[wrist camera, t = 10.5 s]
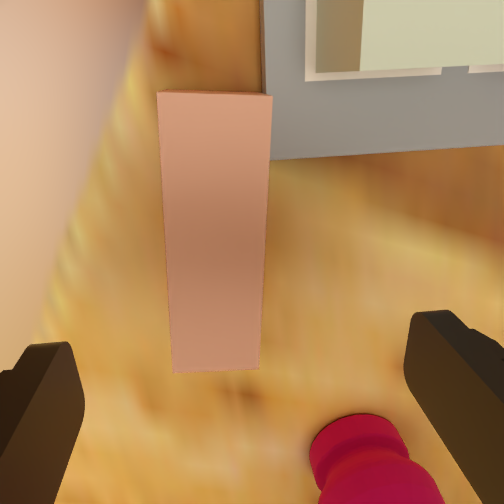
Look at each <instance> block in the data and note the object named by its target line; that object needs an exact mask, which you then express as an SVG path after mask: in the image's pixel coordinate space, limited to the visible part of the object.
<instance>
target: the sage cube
mask: <svg viewBox="0 0 504 504" xmlns="http://www.w3.org/2000/svg"><path fill="white" fill-rule="evenodd" d="M491 64H504V0H317V19H316V73H327V72H348V71H369V70H390V69H410V68H430V67H450V66H471V65H491Z"/></svg>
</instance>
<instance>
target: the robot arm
mask: <svg viewBox="0 0 504 504" xmlns="http://www.w3.org/2000/svg"><path fill="white" fill-rule="evenodd" d="M404 375H405V379H406V383H407V385H408V387H409V389H410V391H411V393H412V394H413V396H414V397H415V399H416V400H417V402H418V404H419V405H420V407H421V408H422V410H423V411H424V413H425V414H426V416H427V418H428V419H429V421H430V422H431V424H432V425H433V427H434V428H435V430H436V432H437V433H438V435H439V436H440V438H441V439H442V441H443V442H444V444H445V446H446V447H447V449H448V450H449V452H450V453H451V455H452V456H453V458H454V459H455V461H456V463H457V464H458V466H459V467H460V469H461V470H462V472H463V473H464V475H465V477H466V478H467V480H468V481H469V483H470V484H471V486H472V487H473V489H474V491H475V492H476V494H477V495H478V497H479V498H480V500H481V501H482V503H483V504H504V348H503V347H502V346H501V345H500V344H499V343H497V342H496V341H495V340H493V339H491V338H489V337H487V336H486V335H484V334H482V333H480V332H478V331H477V330H475V329H469V328H468V327H467V326H466V325H465V324H464V323H463V322H462V321H461V320H460V319H459V318H458V317H457V316H456V315H455V314H454V313H452V312H451V311H449V310H438V311H426V312H416V313H414V314H413V316H412V318H411V322H410V328H409V334H408V340H407V346H406V352H405V358H404ZM84 410H85V398H84V392H83V388H82V385H81V381H80V377H79V373H78V370H77V366H76V362H75V359H74V355H73V351H72V348H71V346H70V344H69V343H68V342H54V343H43V344H31V345H29V346H28V347H27V348H26V349H25V351H24V352H23V354H22V355H21V357H20V359H19V360H18V362H17V363H16V365H15V366H14V368H13V369H12V370H3V371H2V372H1V373H0V504H54V502H55V499H56V496H57V493H58V490H59V487H60V485H61V482H62V479H63V476H64V473H65V470H66V467H67V465H68V462H69V459H70V456H71V453H72V450H73V448H74V445H75V442H76V439H77V436H78V433H79V430H80V428H81V425H82V422H83V417H84Z"/></svg>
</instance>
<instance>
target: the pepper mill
mask: <svg viewBox="0 0 504 504" xmlns="http://www.w3.org/2000/svg"><path fill="white" fill-rule="evenodd" d="M309 456H310V463H311V467H312V470H313V474H314V477H315V481H316V484H317V486H318V488H319V489H320V490H321V491H322V492H321V495H320V498H319V502H318V504H445V502H444V500H443V498H442V496H441V494H440V492H439V489H438V487H437V485H436V483H435V481H434V480H433V478H432V477H431V476H430V474H429V473H428V472H427V471H426V470H425V469H424V468H423V467H421V466H420V465H419V464H417V463H415V462H413V461H411V460H410V459H409V453H408V450H407V448H406V446H405V444H404V442H403V440H402V439H401V437H400V435H399V433H398V431H397V430H396V428H395V427H394V425H393V424H392V423H390V422H389V421H388V420H386V419H384V418H381V417H379V416H375V415H370V414H360V415H352V416H348V417H344V418H341V419H339V420H337V421H335V422H333V423H331V424H329V425H328V426H327V427H326V428H324V429H323V430H322V431H321V432H320V433H319V434H318V436H317V437H316V438H315V440H314V441H313V444H312V446H311V449H310V455H309Z"/></svg>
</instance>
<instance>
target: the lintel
mask: <svg viewBox="0 0 504 504" xmlns="http://www.w3.org/2000/svg"><path fill="white" fill-rule="evenodd" d="M272 104H273V96H272V95H268V94H264V93H260V92H232V91H202V90H172V89H166V90H162V91H158V92H157V109H158V127H159V144H160V161H161V179H162V196H163V213H164V231H165V248H166V265H167V283H168V300H169V317H170V334H171V352H172V369H173V373H188V372H209V371H231V370H253V369H259V359H260V339H261V319H262V300H263V280H264V261H265V241H266V222H267V202H268V183H269V163H270V143H271V124H272Z"/></svg>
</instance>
